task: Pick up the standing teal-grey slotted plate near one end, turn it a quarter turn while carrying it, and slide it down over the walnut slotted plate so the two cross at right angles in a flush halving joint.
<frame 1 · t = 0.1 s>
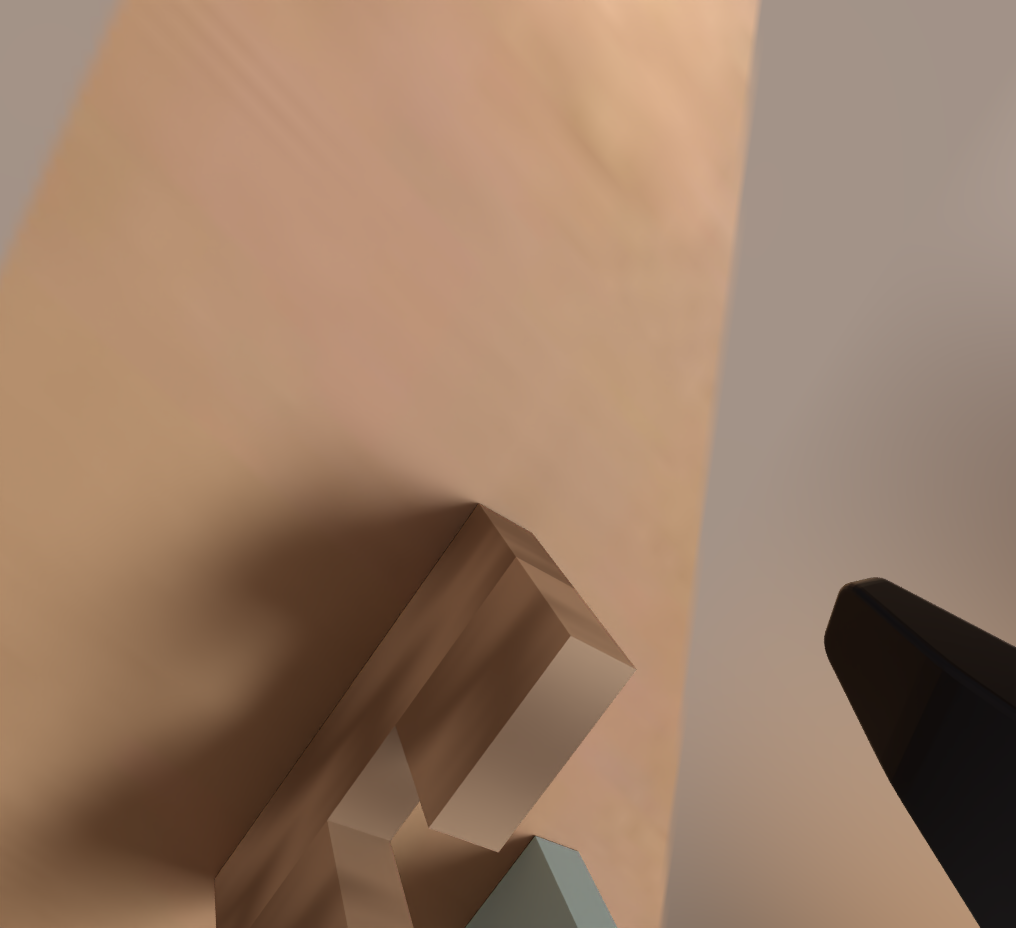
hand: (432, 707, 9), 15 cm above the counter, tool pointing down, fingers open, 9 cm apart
walnut slotted plate: (370, 709, 27), on the counter
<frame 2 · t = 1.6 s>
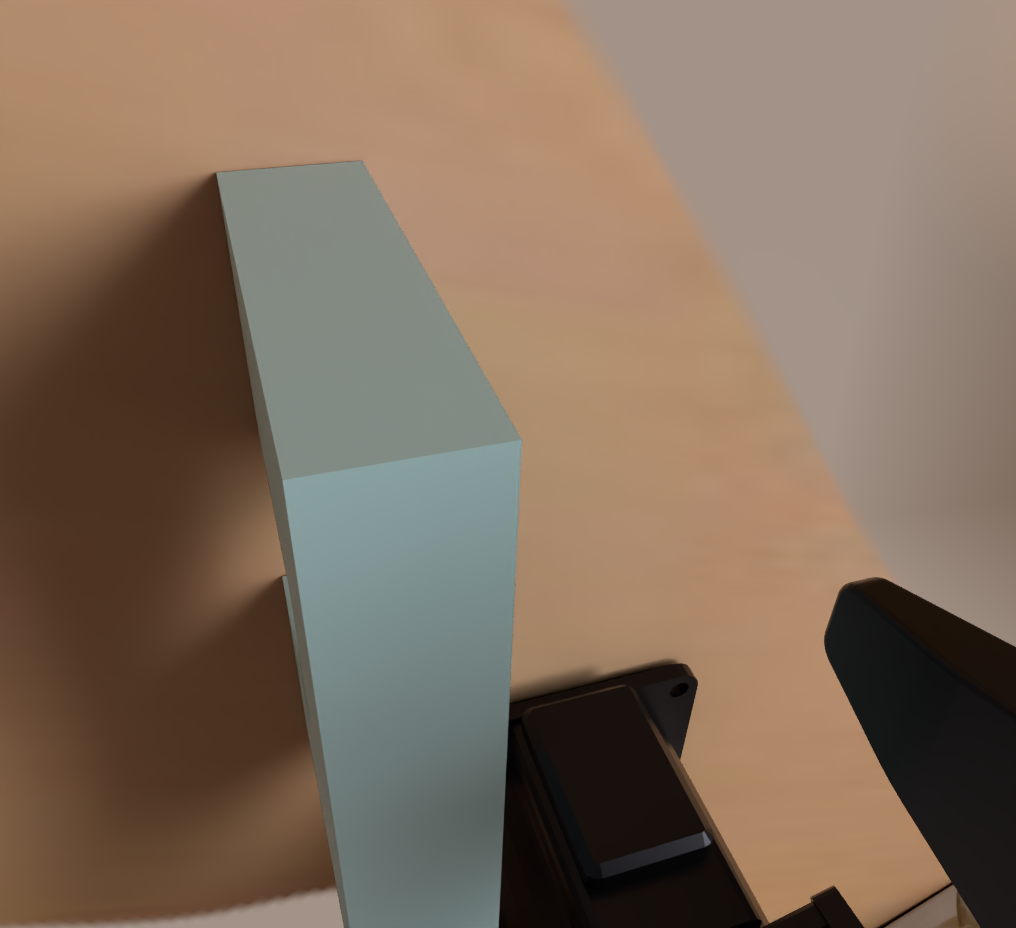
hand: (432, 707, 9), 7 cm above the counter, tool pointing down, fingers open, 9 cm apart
teal slotted plate: (328, 500, 16), on the counter
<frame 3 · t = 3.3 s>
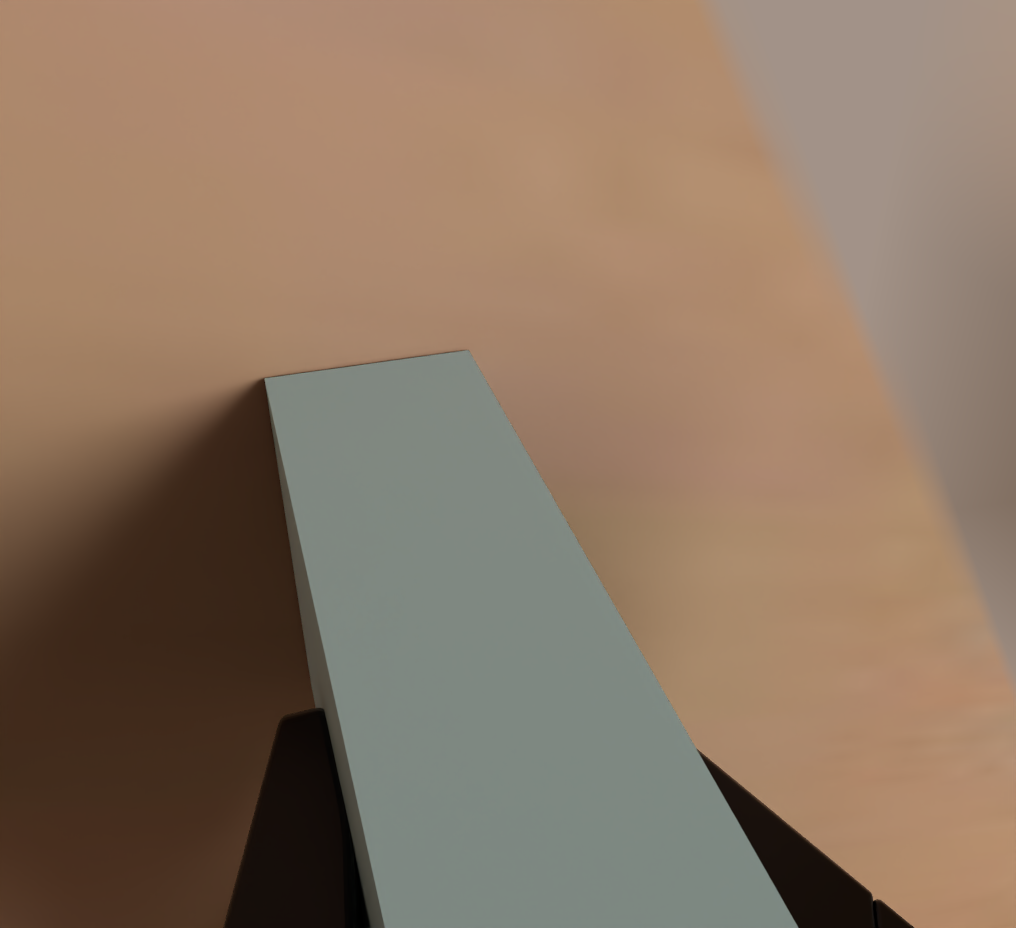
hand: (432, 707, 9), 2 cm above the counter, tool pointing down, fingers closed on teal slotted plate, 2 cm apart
teal slotted plate: (397, 744, 13), on the counter, touching gripper
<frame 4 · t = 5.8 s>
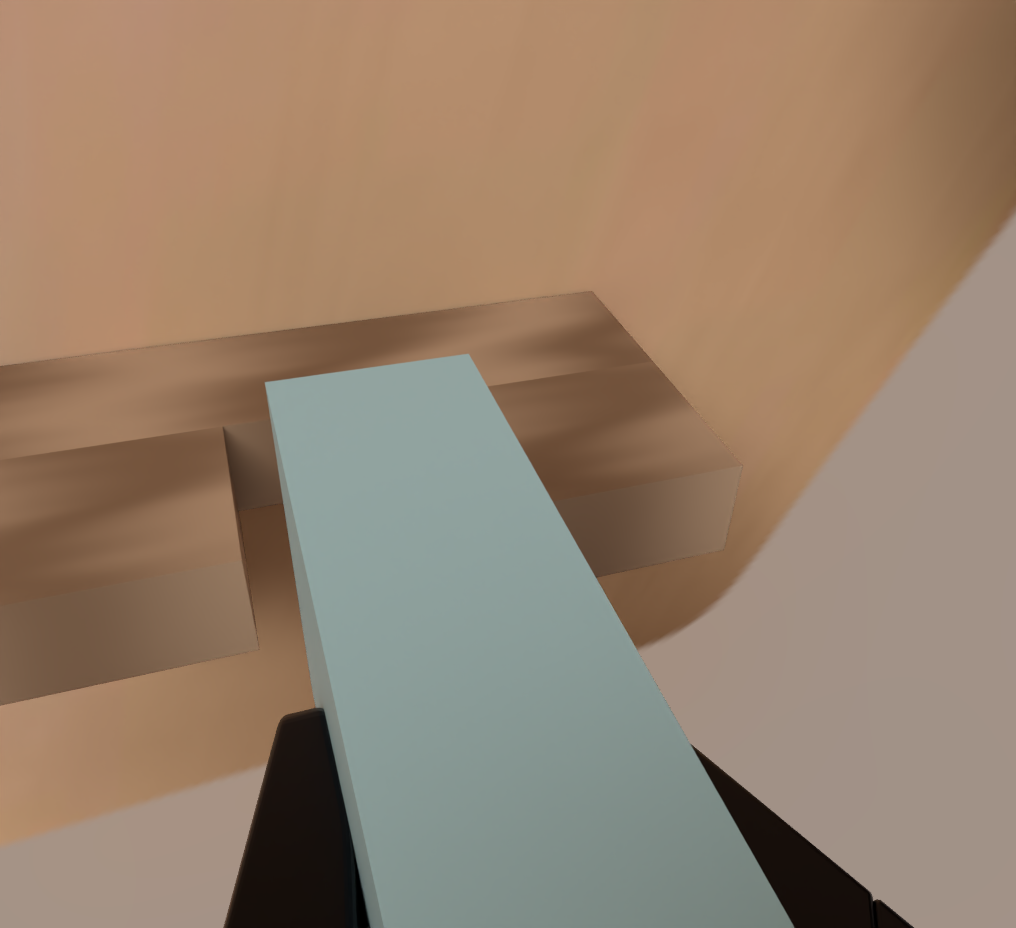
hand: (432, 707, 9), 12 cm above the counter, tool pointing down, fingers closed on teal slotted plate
teal slotted plate: (397, 746, 13), point 10 cm above the counter, touching gripper
walnut slotted plate: (292, 370, 20), on the counter
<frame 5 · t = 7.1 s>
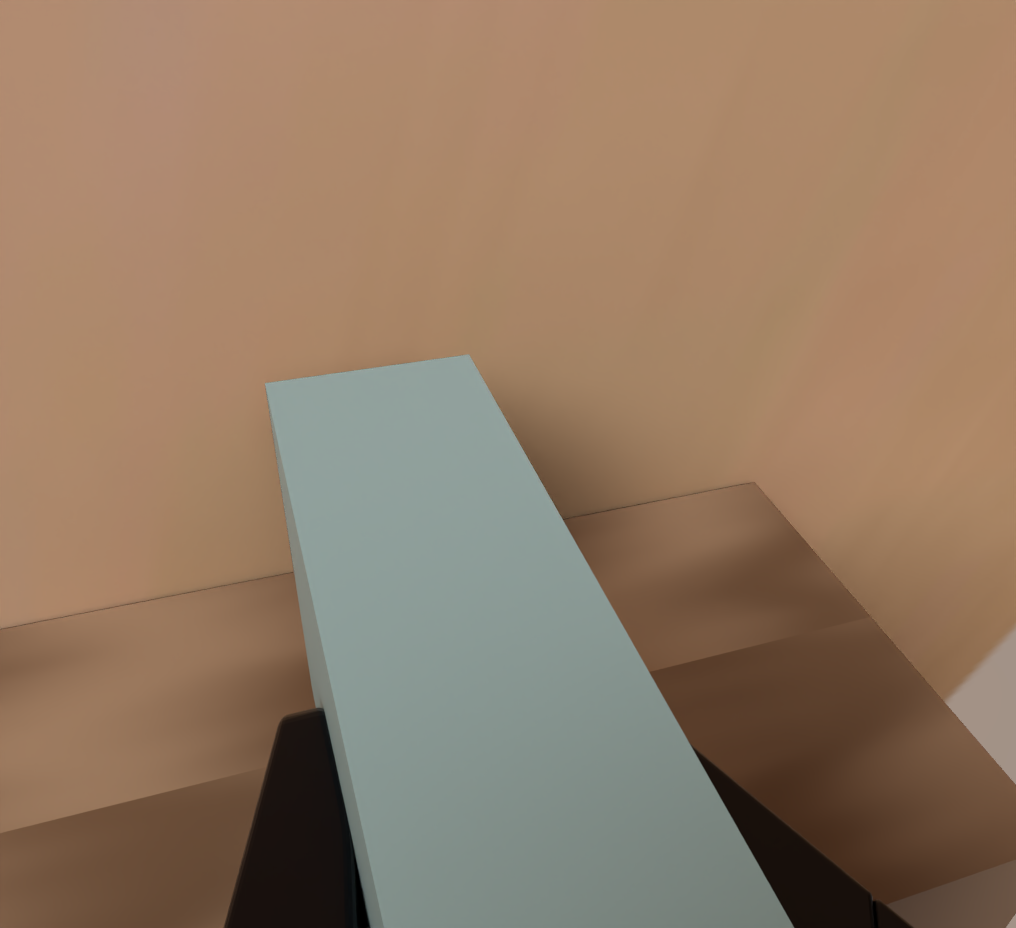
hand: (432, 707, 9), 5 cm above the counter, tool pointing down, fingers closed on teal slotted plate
teal slotted plate: (397, 747, 13), point 3 cm above the counter, touching gripper
walnut slotted plate: (354, 607, 15), on the counter
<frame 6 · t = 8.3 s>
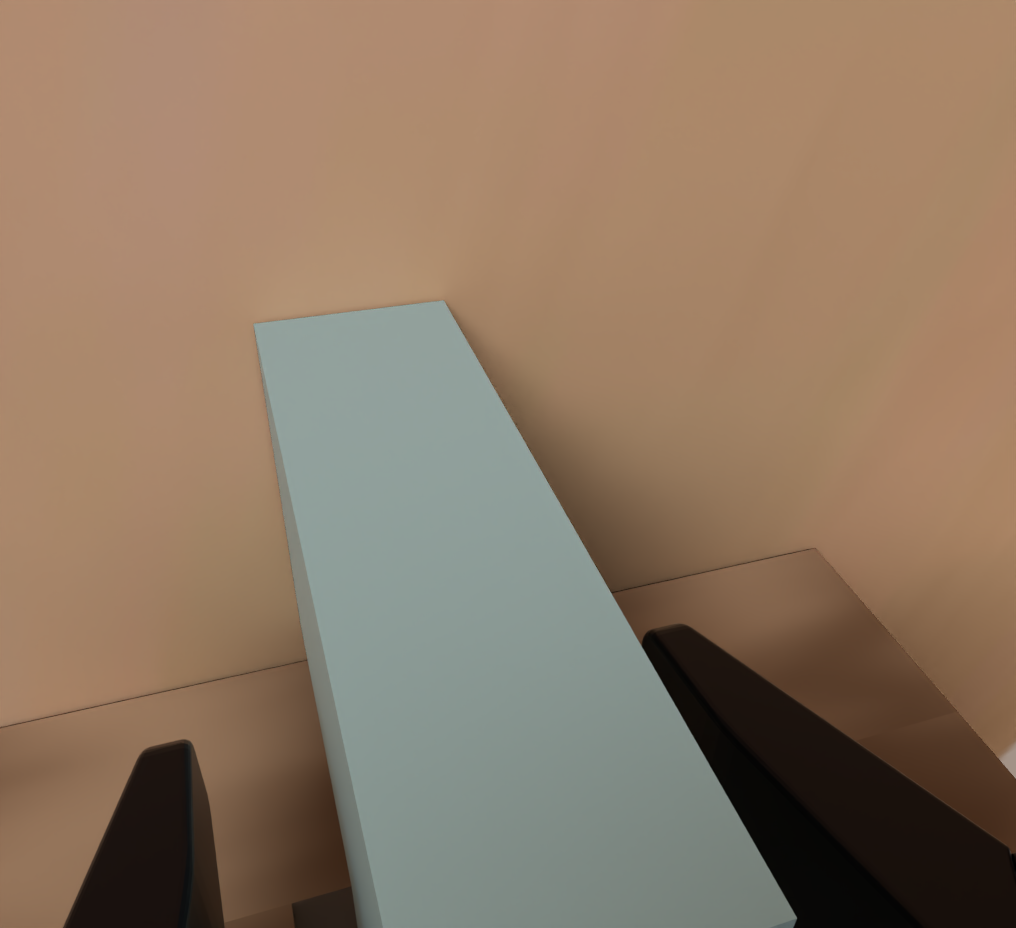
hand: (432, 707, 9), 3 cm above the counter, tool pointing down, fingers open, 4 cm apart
teal slotted plate: (382, 686, 13), on the counter
walnut slotted plate: (380, 692, 13), on the counter
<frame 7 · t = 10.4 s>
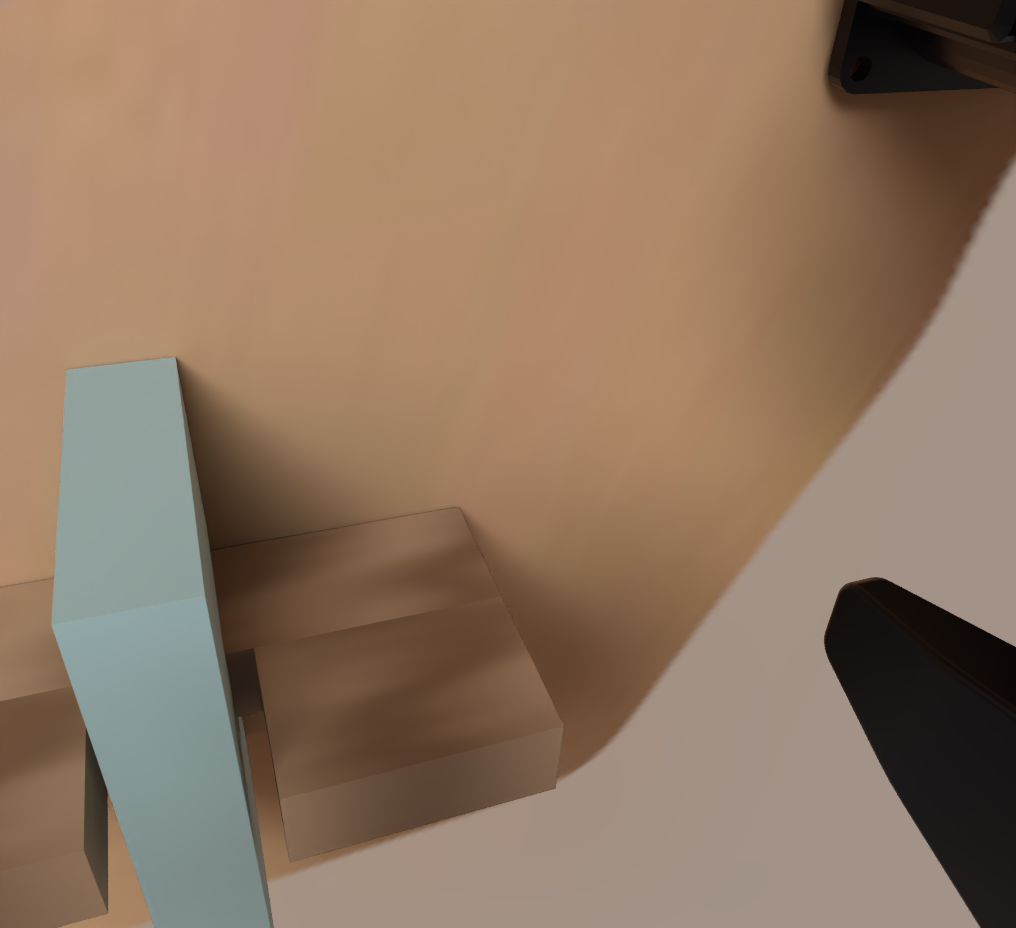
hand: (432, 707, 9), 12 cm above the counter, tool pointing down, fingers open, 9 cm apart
teal slotted plate: (172, 586, 22), on the counter
walnut slotted plate: (171, 590, 22), on the counter
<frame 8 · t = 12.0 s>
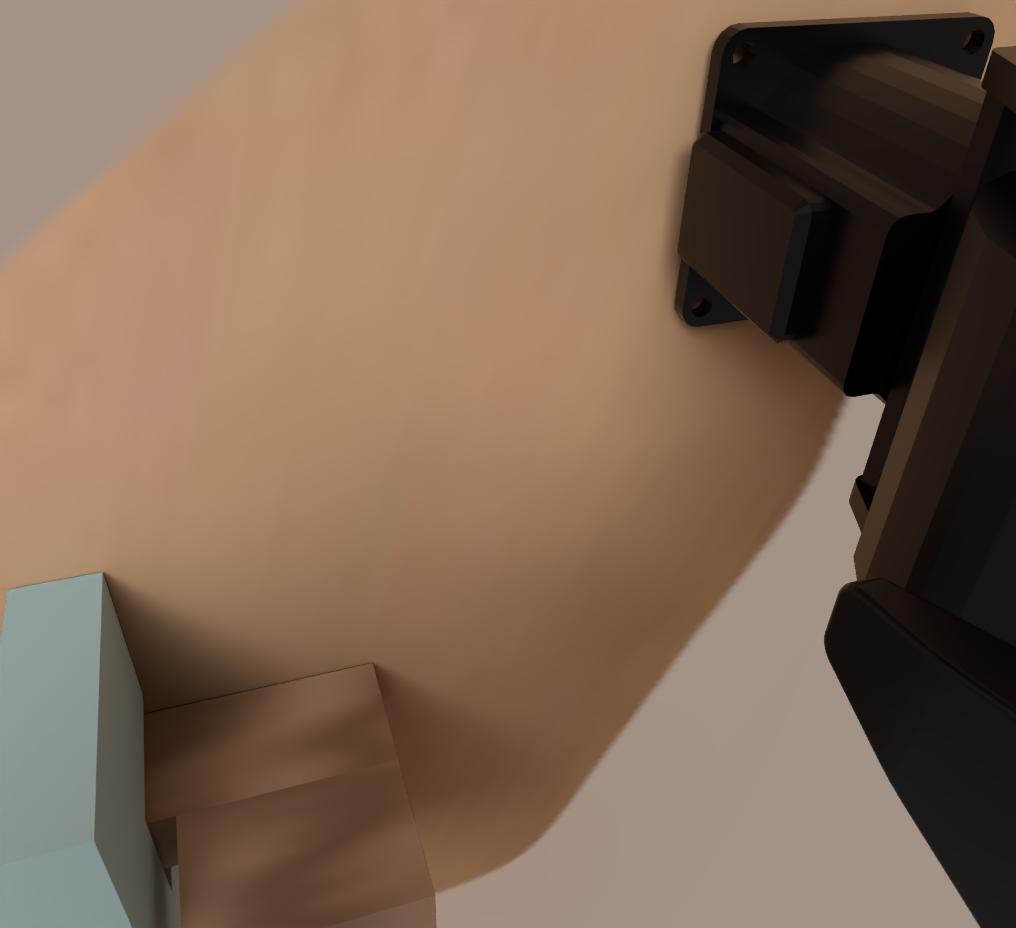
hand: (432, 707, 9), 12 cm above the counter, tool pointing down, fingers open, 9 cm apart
teal slotted plate: (116, 743, 25), on the counter
walnut slotted plate: (115, 746, 25), on the counter
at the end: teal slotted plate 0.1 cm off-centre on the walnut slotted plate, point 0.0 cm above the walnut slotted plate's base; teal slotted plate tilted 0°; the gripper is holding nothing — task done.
